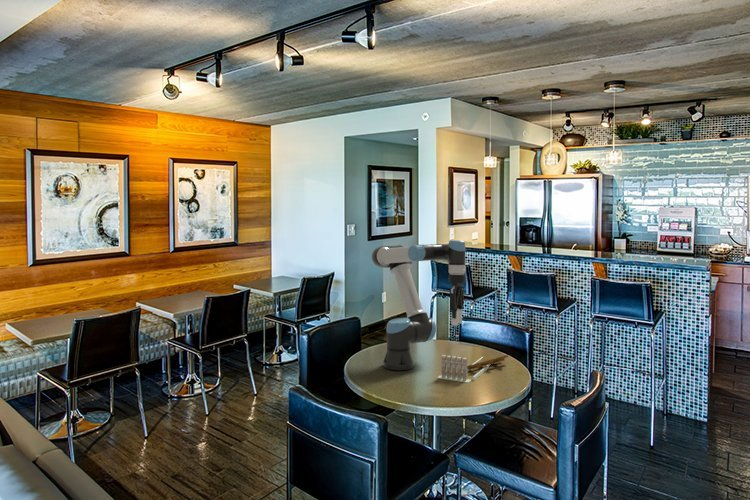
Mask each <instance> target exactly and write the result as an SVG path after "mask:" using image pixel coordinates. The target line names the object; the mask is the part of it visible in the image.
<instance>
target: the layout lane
mask: <svg viewBox="0 0 750 500" xmlns="http://www.w3.org/2000/svg"><path fill="white" fill-rule="evenodd" d="M483 357H484V356H481V357H480V358H478V360H476V361H475V362H472V364H471V365H473V364H477V363H480V362H481V361H482V360H483V359H484V358H483ZM482 358H483V359H482ZM481 359H482V360H481ZM490 365H491V364H489V365H485V366H483V368H482V369H480V370H479V371H478V372H477V373H475V374H474V375H473V376H472V381H475V380H477V379H478V378H479V377H481V376H482V374H484V373H485V372H486V371H487V370H488V369H489V368H490V367H491V366H492V365H491V366H490ZM489 366H490V367H489ZM470 371H471V370H469V368H467V373H469V372H470Z"/></svg>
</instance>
